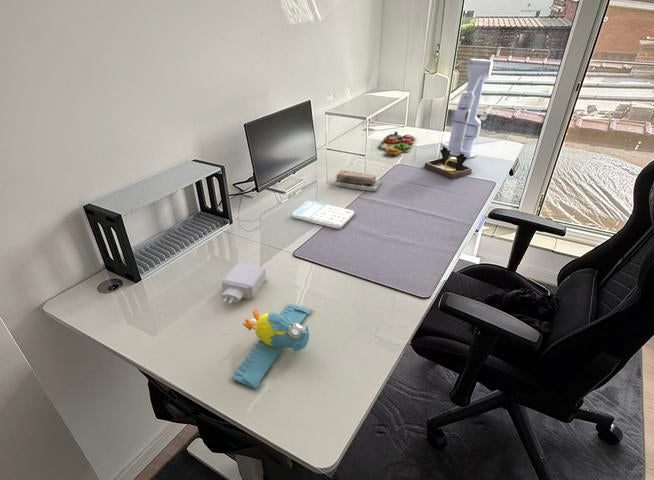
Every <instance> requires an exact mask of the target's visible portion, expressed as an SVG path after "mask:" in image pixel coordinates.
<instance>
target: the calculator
mask: <svg viewBox="0 0 654 480" xmlns="http://www.w3.org/2000/svg"><path fill="white" fill-rule="evenodd" d="M291 216H292V218H294V219H297V220H300V221H304V222H308V223H312V224H317V225H320V226H324V227H327V228H330V229H331V228H332V229H337V230H339V229H342V228H343V227H344V226H345V225H346V224H347V223H348V222H349V221H350V220H351V219H352V218H353V217H354V216H355V211H354V210H352V209H348V208H344V207H339V206H335V205H331V204H327V203H322V202H318V201H314V200H307V201H305V203H303V204H302V205H301V206H299V207H298V208H297V209H296V210H294V211H293V212H292V215H291Z"/></svg>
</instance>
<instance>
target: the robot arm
mask: <svg viewBox="0 0 654 480" xmlns="http://www.w3.org/2000/svg"><path fill="white" fill-rule="evenodd" d="M493 66H494V61H493V59H478V58H470V59H469V60H468V62H467V64H466V75H467V77H468V81H467V84H466V89H465V91H464V92H463V93H462V94H461V95H460V98H459V101H458V104H457V107H456V109H454V110H453V112H452V115H451V132H450V135H449V142H448V143H447V142H442V143H441V144H440V148H441V149H440V150H439V152H440V154H441V158H442V159H443V165H445V163H446V161H447V160H448V159H450V156H451V155H452V156H454V157H455V158H456V159H457V161H456V162H457V164H456V171H458V170H460V169H461V166H462V165H464V163H465V161H466V160H468V159H470V158H474V157H476V155H475V154H473V150H474V144H475V139H477V138H479V136H480V132H481V129H482V128H481V127H482V121H481V120H480V118H479V117H477V116H478V112H479V106H480V103H481V98H482V93H483V88H484V84H485V81H486V80H489V79H490V78H491V75H492V71H493V68H494V67H493ZM447 164H448V162H447V163H446V165H447Z"/></svg>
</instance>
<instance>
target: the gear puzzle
mask: <svg viewBox="0 0 654 480" xmlns="http://www.w3.org/2000/svg"><path fill="white" fill-rule="evenodd" d="M415 141H416V137H415V136H413V135H412V134H404V135H401V134H399V132H398V131H397V130H395V131H394V132H393V133H389V134H387V135H386V136H385V137H384V139H383V140H382V141H381V144H379V145H378V148H380V150H384V153H385V154H386V155H390V156H392V155H393V156H397V155H399V156H400V155H401V154H402V153H409V151H410V149H411V148H412V146H413V144H414V142H415Z"/></svg>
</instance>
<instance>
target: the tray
mask: <svg viewBox="0 0 654 480" xmlns="http://www.w3.org/2000/svg"><path fill="white" fill-rule="evenodd" d="M456 164H457V161H452V160H449V161H448V164H447V165H446V167H447V169H451V170H454V169H456ZM424 168H426V169H428V170H431V171H433V172H435V173H437V174H440V175H442V176H444V177H446V178H450V179H451V180H454V179H457V178H460V177H463V176H468V175H471V174H472V170H473V168H472V167H469V166H467V165H464V164H462V166H461V169H460V170H458V171H454V172H453V171H447V170H446V168H445V165H443V159H442V157H438V158H436V159H431V160H428V161H425V162H424Z"/></svg>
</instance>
